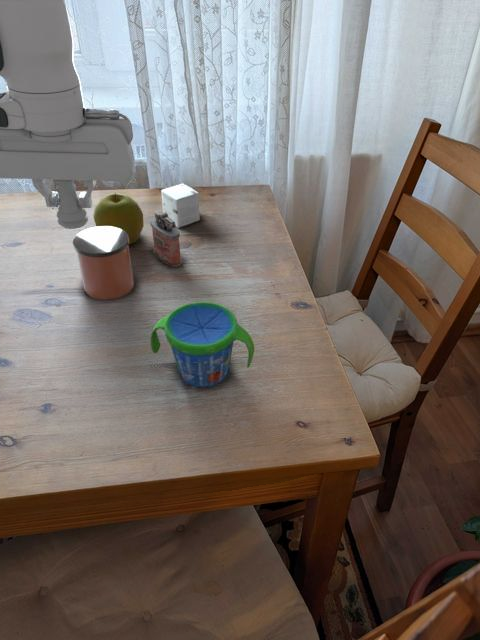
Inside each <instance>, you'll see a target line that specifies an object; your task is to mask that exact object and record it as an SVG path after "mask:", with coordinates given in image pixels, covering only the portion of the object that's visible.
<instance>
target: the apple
mask: <svg viewBox="0 0 480 640" xmlns="http://www.w3.org/2000/svg"><path fill="white" fill-rule="evenodd" d="M93 211H94V212H93V215H92V216H93V221H94V225H95V227H99V226H110V227H116V228H119V229H121V230H123V231H125V232H126V233H127V235H128V238H129V244H128V246H129V245H132V244H134V243H136V242H137V241H138V240H139V238H140V236H141V234H142V231H143V229H144V225H145V224H144V212H143V210H142V208H141V207H140V205H139V204H138V202H137V201H135V200H134V199H133V198H132V197H131V196H129V195H128V194H125V193H124V194H123V193H116V192H114V193H108V194H106V195H104V196H103V197H101V199H100V200H98V201H97V203H96V205H95V207H94V210H93Z"/></svg>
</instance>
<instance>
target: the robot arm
mask: <svg viewBox="0 0 480 640" xmlns="http://www.w3.org/2000/svg"><path fill="white" fill-rule="evenodd" d="M74 47H75V45H74V37H73V32H72V27H71V22H70V17H69V13H68V9H67V4H66V0H0V77H2V78H3V80H4V81H5V85H6V89H7V90H6V91H2V92H0V179H10V180H11V179H12V180H14V179H15V180H31V182H32V185H33V188H35V190H37V192H38V193H39V194H40V195H41V196H42V197H43V198H44V201H45V205H46V207H47V208H59V204H60V203H59V194H58V191H53V190H52V189H51V188H50V187H49V185H48V184H47V183H46V182H47V181H48V180H49V181H50V180H51V181H53V180H75V181H82V184H83V187H84V188H87V189H86V192H85V191H83V192H82V191H81V192H80V193H79V195H78V196H77V197H78V200H79V202H80V208H84V209H91V208H92V207H93V197H92V192H93V191H94V188H95V186H96V184H97V182H122V183H123V182H124V183H125V182H129V181H130V180H132V178H133V177H134V176H135V173H136V159H135V155H134V150H133V149H134V148H133V146H132V141H133V140H134V139H133V138H134V131H133V125H132V122H131V120H130V119H129V117H128V116H127V115H125V114H123V113H120V111H119V110H117V109H98V108H86V107H85V103H84V97H83V90H82V85H81V79H80V76H79V74H78V72H77V69H76V67H75V63H74Z"/></svg>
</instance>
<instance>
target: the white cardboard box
mask: <svg viewBox="0 0 480 640" xmlns="http://www.w3.org/2000/svg"><path fill="white" fill-rule="evenodd" d="M160 191H161V203H162V213H165V212H166V213H167V214H168V216H169V218H171V219H172V220H174V221H175V225H176V228H177V229H178V228H182V227H185V226H188V225H190V224H193V223H195V222H198V221H200V219H201V218H200V215H201V214H200V192H199V191H196V190H195V189H193V188H192V187H190V186H188V185H187V184H185V183H180V184H177V185H173V186H170V187H167V188H163V189H161V190H160Z"/></svg>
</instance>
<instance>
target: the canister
mask: <svg viewBox="0 0 480 640" xmlns="http://www.w3.org/2000/svg"><path fill="white" fill-rule="evenodd" d="M128 244H129V238H128V235H127V233H126V232H125V231H123V230H121V229H119V228H116V227H110V226H99V227H96V226H93V227H89V228H87V229H84V230H81V231H80V232H78V233H77V234H76V235H75V236H74V237H73V238H72V245H73V249H74V251H75V254H76V259H77V263H78V268H79V271H80V276H81V280H82V284H83V289H84V292H85V293H86V294H87V296H89V297H91V298H93V299H97V300H114V299H118V298H121V297H123V296H125V295H127V294H129V293H130V292H131V291H132V290H133V288H134V286H135V282H134V281H135V280H134V273H133V268H132V260H131V253H130V247H129V245H130V244H129V245H128Z"/></svg>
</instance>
